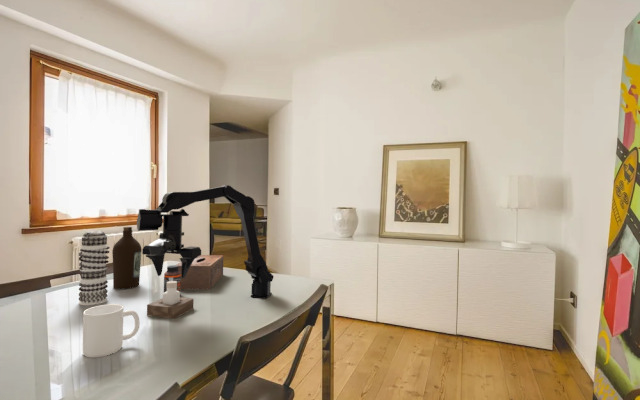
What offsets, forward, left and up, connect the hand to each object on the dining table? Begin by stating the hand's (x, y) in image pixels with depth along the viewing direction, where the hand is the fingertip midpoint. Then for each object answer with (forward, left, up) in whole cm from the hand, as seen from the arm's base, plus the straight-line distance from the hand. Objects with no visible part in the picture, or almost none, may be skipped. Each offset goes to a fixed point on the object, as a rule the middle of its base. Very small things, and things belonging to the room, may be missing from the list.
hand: (171, 276), depth 110 cm
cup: (-4, +27, -12) cm, 30 cm away
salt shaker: (0, 0, -12) cm, 12 cm away
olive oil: (+38, -21, -12) cm, 45 cm away
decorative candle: (+33, -1, -12) cm, 35 cm away
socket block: (0, 0, -12) cm, 12 cm away
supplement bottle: (+12, -16, -12) cm, 23 cm away
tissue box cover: (+14, -38, -12) cm, 42 cm away
